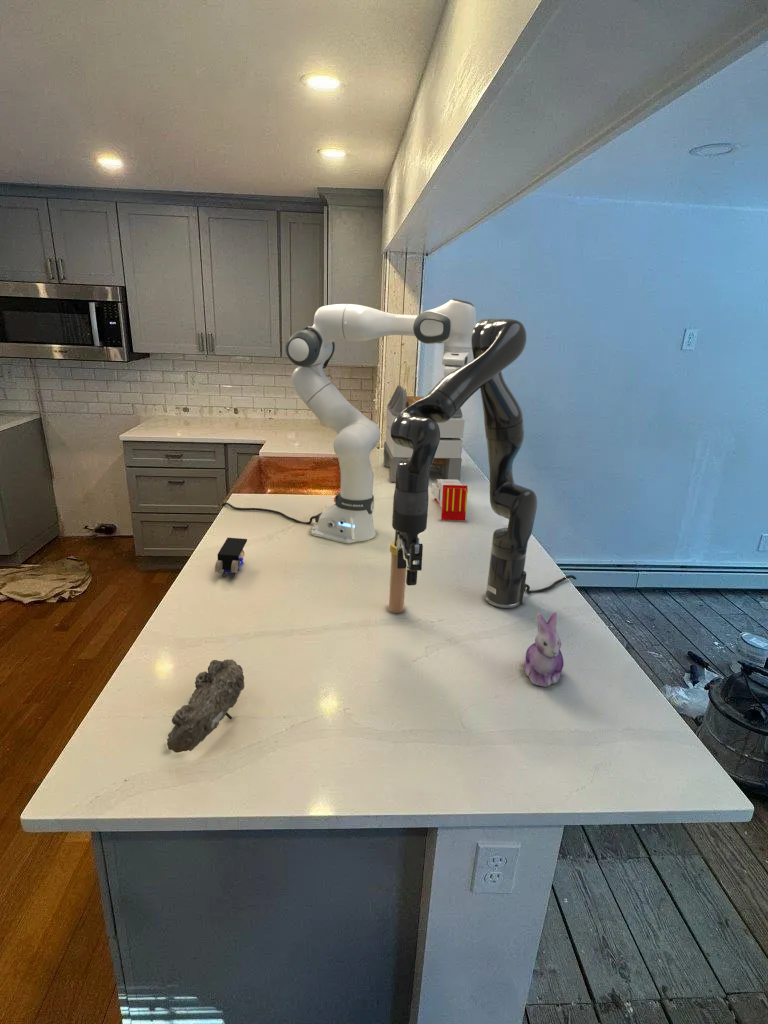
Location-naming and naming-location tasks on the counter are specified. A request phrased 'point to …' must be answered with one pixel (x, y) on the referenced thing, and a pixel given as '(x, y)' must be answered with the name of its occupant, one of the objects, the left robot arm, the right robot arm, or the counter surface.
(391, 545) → the lid
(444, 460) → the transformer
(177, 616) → the counter surface
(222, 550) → the black toy vehicle
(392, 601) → the bottle
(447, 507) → the toy
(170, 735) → the fossil
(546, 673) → the figurine
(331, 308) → the left robot arm
